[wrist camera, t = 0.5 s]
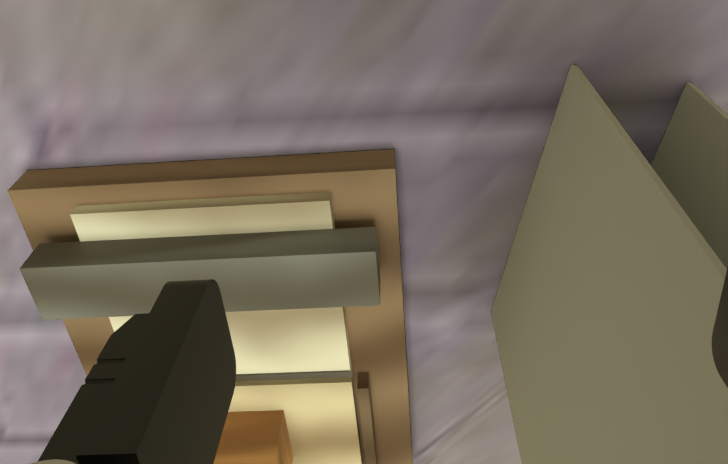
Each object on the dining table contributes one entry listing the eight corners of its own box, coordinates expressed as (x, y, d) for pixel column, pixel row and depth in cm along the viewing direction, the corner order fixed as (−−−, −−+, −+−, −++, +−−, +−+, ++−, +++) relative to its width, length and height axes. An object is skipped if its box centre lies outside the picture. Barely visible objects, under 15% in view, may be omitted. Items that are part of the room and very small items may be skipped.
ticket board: (27, 170, 32) (-24, 222, 28) (394, 148, 31) (395, 200, 27) (143, 461, 44) (119, 526, 40) (412, 453, 43) (414, 520, 39)
